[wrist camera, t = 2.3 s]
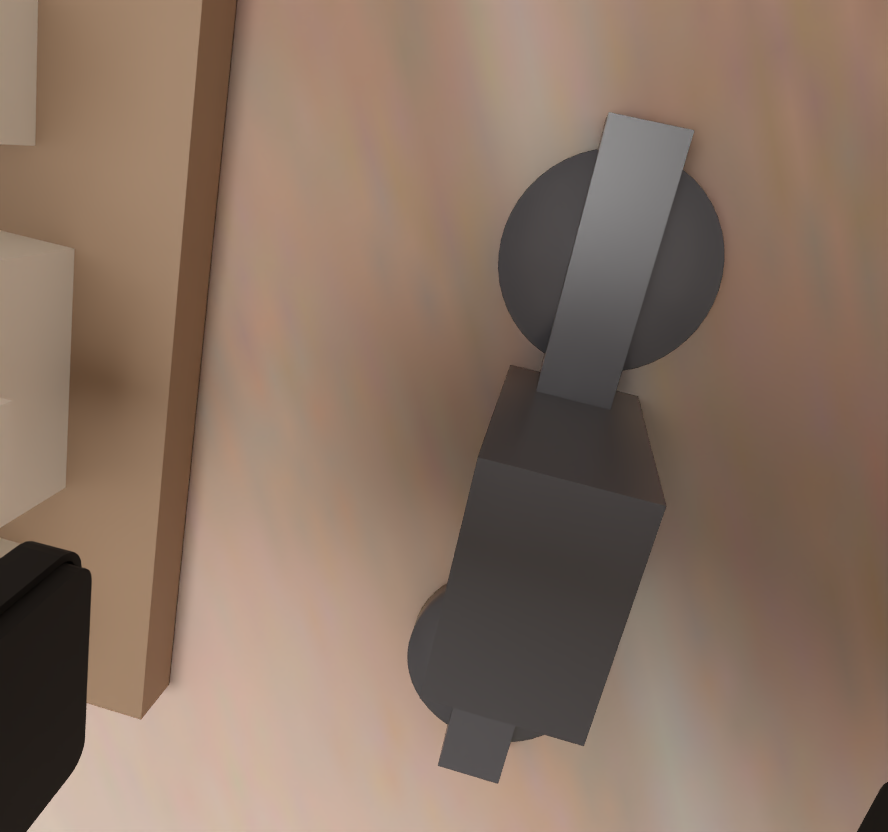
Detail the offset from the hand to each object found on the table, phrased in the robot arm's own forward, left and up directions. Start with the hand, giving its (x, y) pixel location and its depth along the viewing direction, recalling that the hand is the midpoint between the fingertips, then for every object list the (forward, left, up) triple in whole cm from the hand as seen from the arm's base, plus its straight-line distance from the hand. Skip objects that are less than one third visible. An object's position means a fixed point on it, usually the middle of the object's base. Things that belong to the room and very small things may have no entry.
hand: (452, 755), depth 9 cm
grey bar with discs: (-1, 0, -10) cm, 10 cm away
